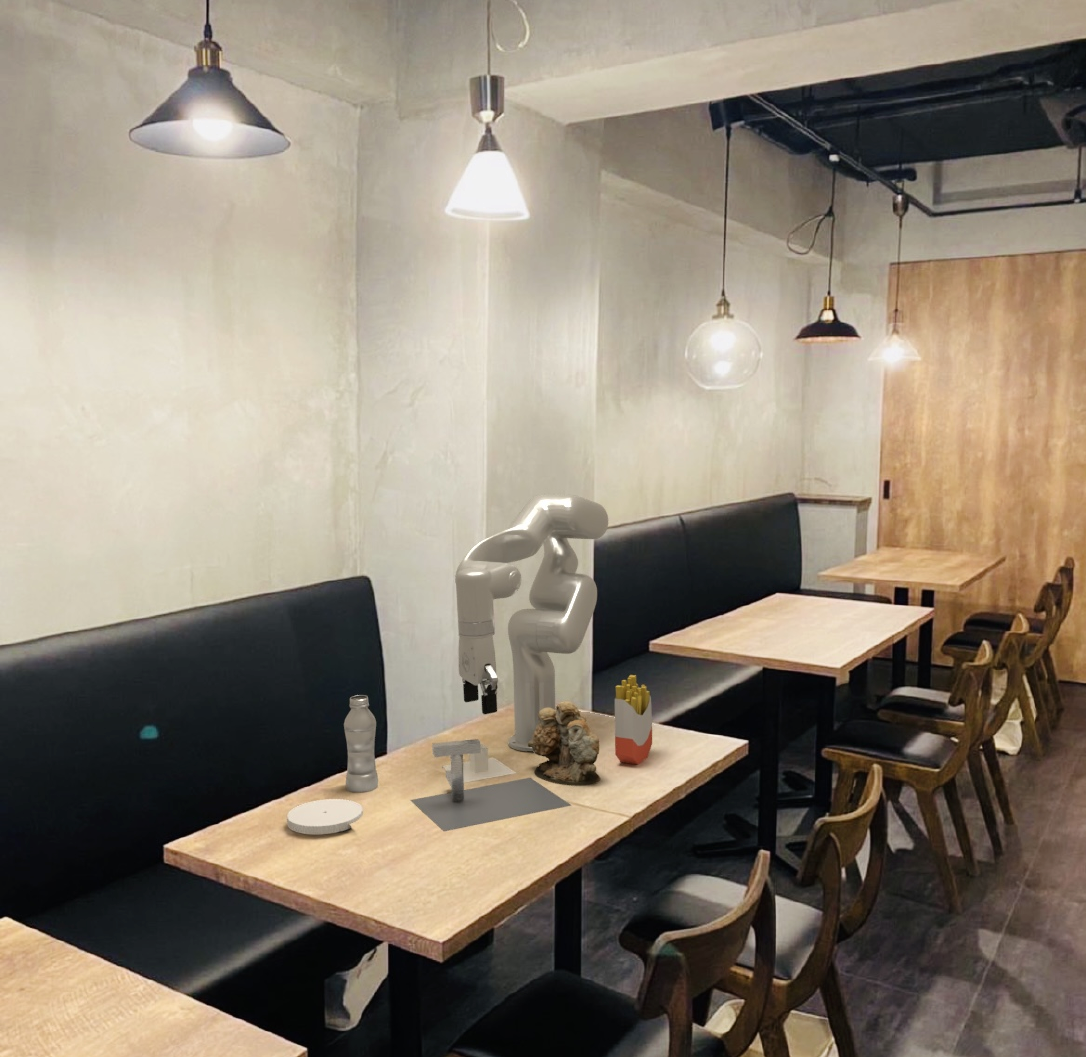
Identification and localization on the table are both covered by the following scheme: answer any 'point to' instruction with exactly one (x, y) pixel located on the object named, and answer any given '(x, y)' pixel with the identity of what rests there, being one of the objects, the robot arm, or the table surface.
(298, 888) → the table surface
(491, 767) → the cover
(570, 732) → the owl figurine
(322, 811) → the plastic lid
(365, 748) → the plastic bottle
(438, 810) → the base
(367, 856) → the table surface
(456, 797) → the t key
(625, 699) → the french fries container
